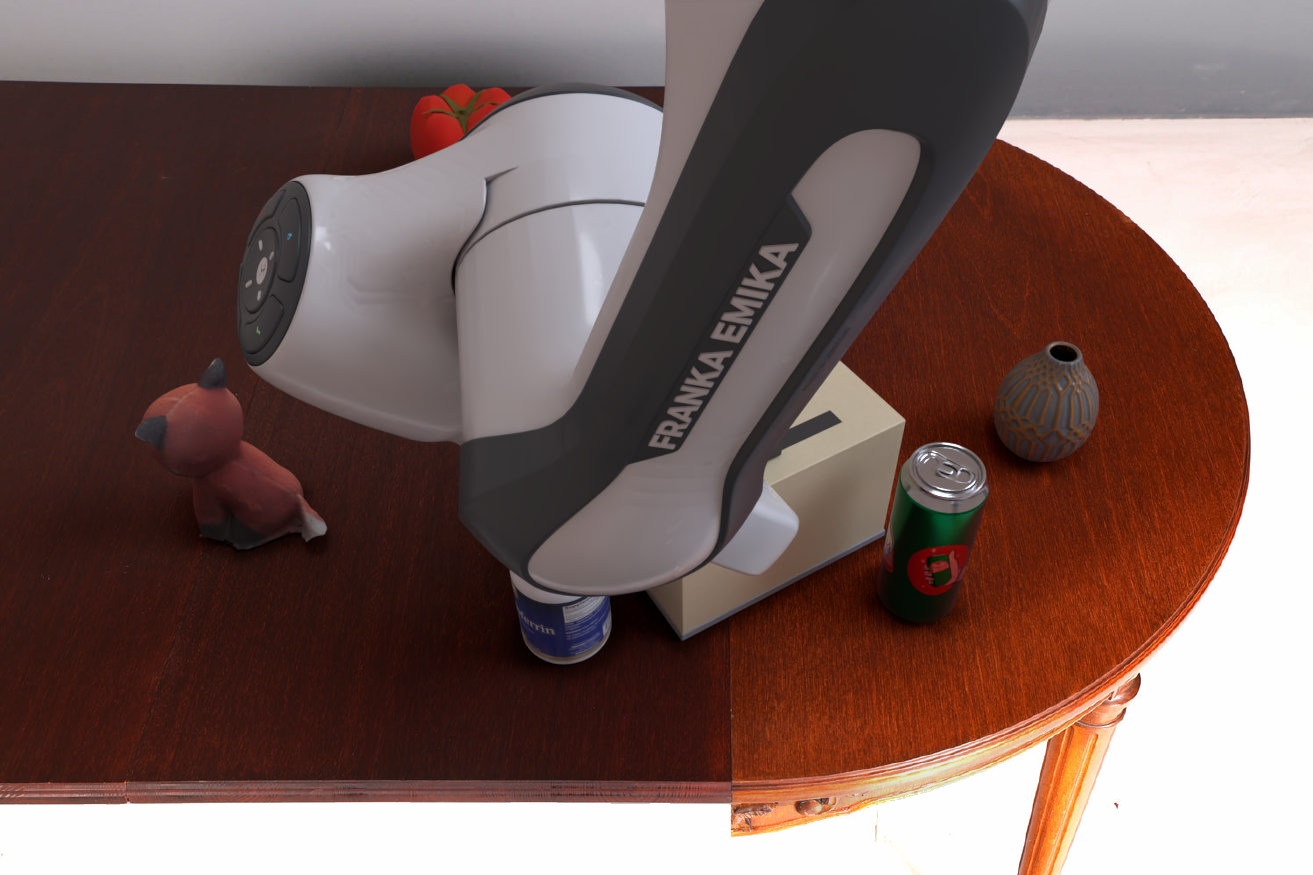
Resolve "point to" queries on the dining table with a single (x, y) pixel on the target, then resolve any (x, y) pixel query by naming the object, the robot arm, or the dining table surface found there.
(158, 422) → the stuffed fox
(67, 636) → the dining table surface
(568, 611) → the pill bottle
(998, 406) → the vase
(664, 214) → the robot arm
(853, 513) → the toaster
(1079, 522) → the dining table surface
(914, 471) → the soda can
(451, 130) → the tomato
